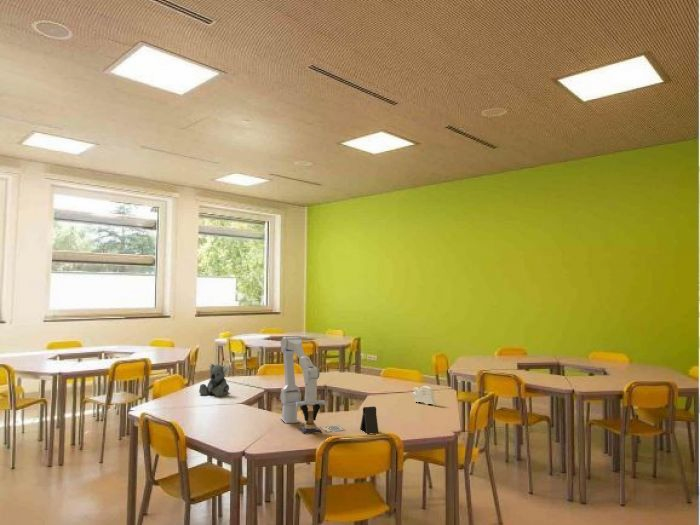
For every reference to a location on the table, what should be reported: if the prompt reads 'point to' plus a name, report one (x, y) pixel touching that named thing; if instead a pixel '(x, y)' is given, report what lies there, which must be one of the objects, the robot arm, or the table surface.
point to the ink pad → (309, 430)
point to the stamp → (310, 421)
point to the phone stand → (369, 420)
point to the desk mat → (334, 428)
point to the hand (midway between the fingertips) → (310, 420)
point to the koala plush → (216, 381)
